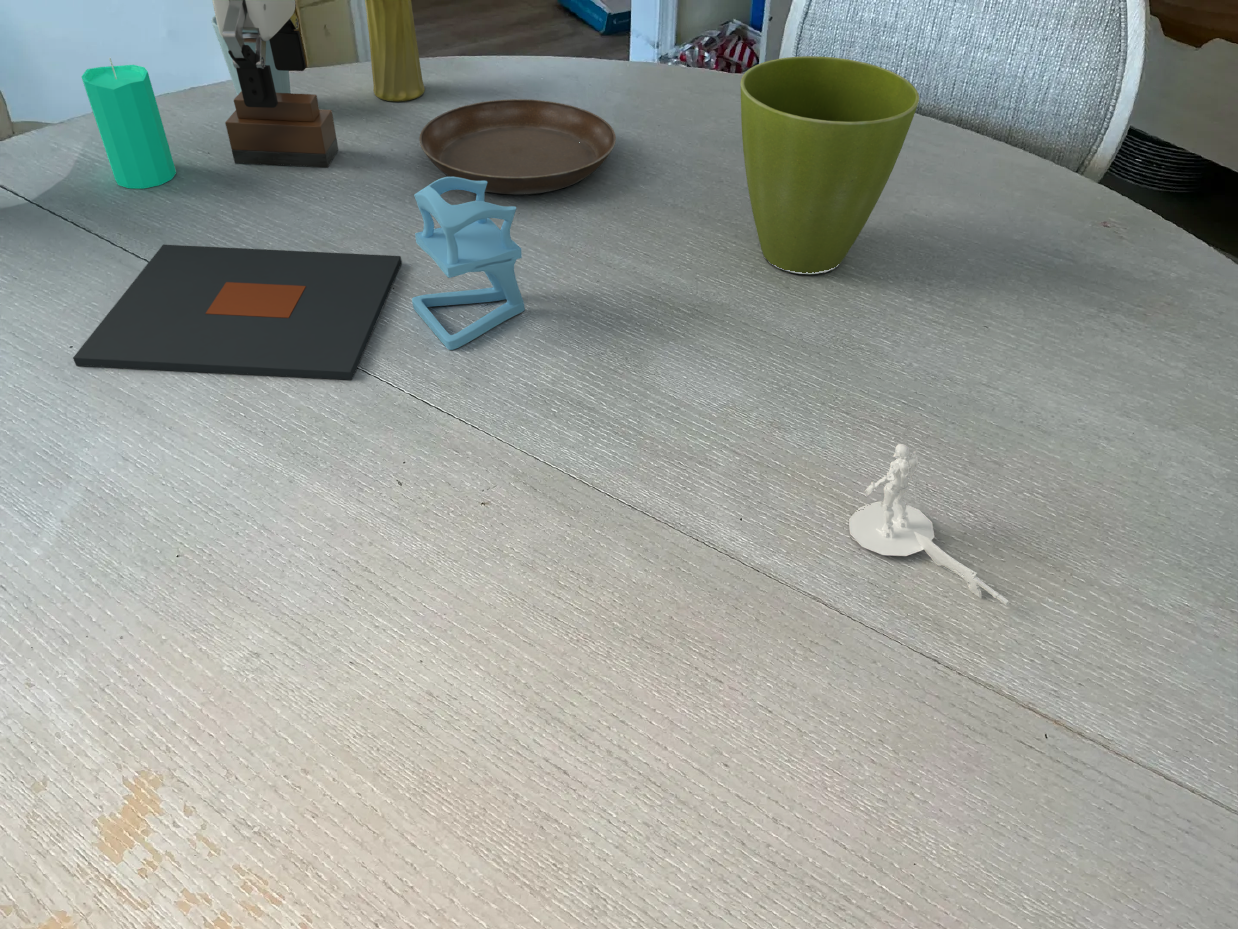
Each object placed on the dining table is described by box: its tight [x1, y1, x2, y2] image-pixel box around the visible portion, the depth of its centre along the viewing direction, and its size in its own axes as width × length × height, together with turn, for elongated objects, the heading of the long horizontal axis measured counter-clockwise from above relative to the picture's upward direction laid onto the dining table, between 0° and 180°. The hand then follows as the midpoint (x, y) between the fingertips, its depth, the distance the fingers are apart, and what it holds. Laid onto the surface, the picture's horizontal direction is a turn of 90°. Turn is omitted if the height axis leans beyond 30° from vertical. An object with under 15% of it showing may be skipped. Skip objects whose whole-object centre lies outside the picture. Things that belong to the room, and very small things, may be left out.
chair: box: [411, 176, 526, 351], centre depth 82 cm, size 8×8×12 cm
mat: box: [72, 244, 402, 381], centre depth 86 cm, size 22×18×1 cm
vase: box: [364, 0, 426, 103], centre depth 118 cm, size 6×6×14 cm
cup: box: [211, 15, 291, 96], centre depth 115 cm, size 8×8×10 cm
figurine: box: [848, 443, 1010, 607], centre depth 64 cm, size 6×12×8 cm, turn 38°
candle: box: [81, 57, 177, 190], centre depth 101 cm, size 6×6×12 cm
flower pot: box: [739, 55, 920, 273], centre depth 90 cm, size 15×15×16 cm
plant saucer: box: [418, 98, 617, 195], centre depth 108 cm, size 21×21×3 cm
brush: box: [224, 91, 339, 168], centre depth 107 cm, size 10×4×6 cm, turn 87°
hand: (277, 87), depth 104 cm, fingers open, 9 cm apart
